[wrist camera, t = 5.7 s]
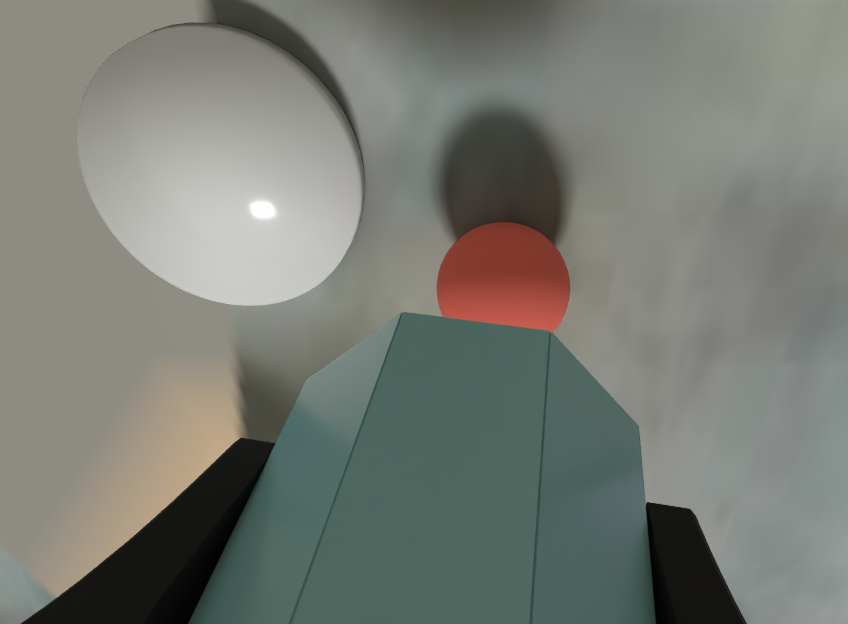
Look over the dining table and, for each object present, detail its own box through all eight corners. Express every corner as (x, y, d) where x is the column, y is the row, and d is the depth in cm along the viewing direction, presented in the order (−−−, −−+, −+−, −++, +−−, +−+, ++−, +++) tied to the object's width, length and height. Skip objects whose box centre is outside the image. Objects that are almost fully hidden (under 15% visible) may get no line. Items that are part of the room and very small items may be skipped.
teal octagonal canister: (482, 242, 11) (396, 610, 6) (709, 490, 13) (790, 934, 8) (235, 419, 14) (35, 771, 9) (450, 602, 15) (385, 984, 10)
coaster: (201, -50, 16) (189, -45, 16) (425, 193, 18) (420, 204, 18) (40, 150, 20) (26, 159, 19) (244, 336, 22) (236, 348, 21)
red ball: (517, 175, 18) (505, 235, 15) (597, 267, 19) (597, 338, 16) (422, 246, 19) (397, 311, 17) (500, 328, 20) (487, 401, 18)
